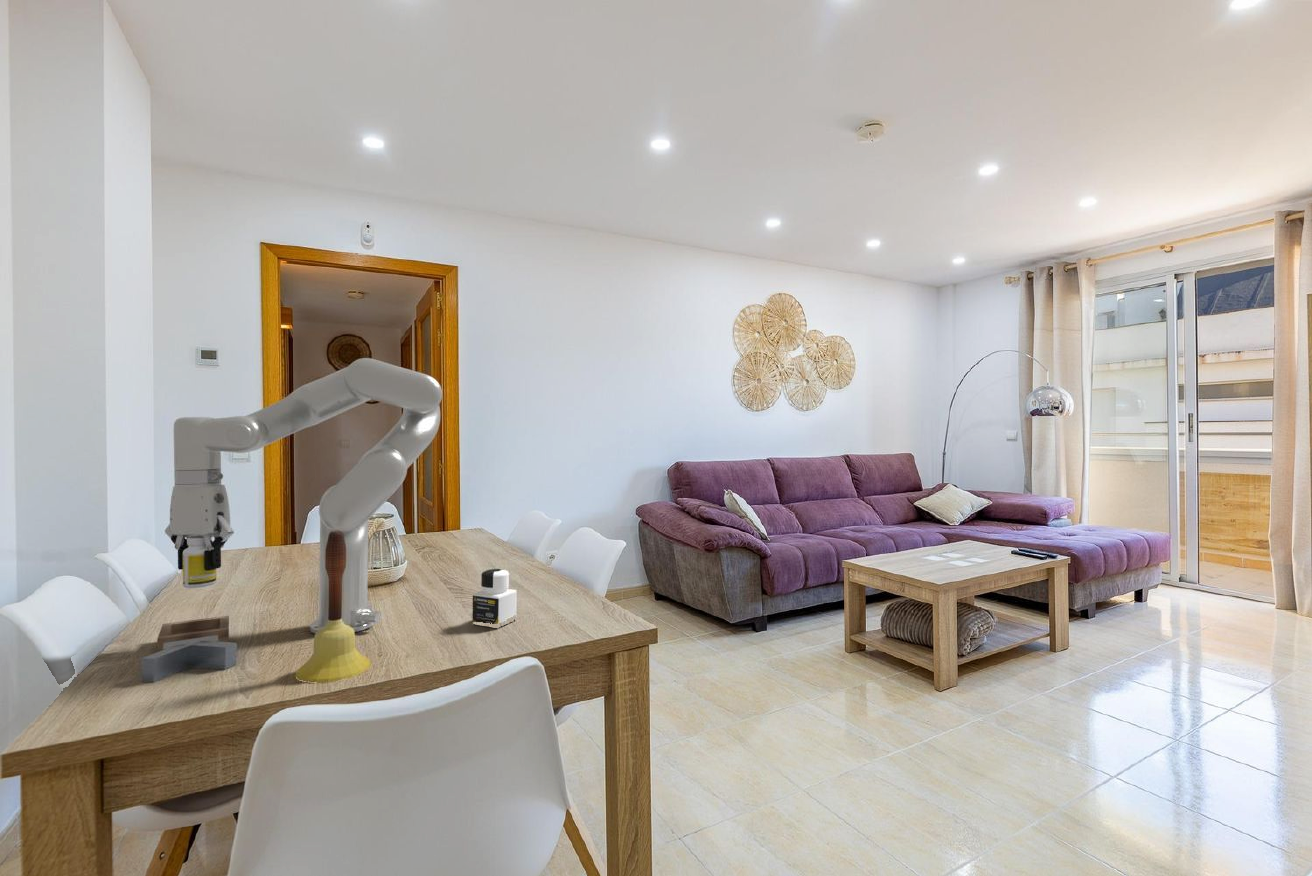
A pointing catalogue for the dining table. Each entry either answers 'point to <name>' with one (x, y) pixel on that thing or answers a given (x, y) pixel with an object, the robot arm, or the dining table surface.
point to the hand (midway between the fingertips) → (199, 567)
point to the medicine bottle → (494, 598)
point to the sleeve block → (194, 630)
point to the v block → (188, 657)
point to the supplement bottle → (196, 564)
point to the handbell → (334, 628)
